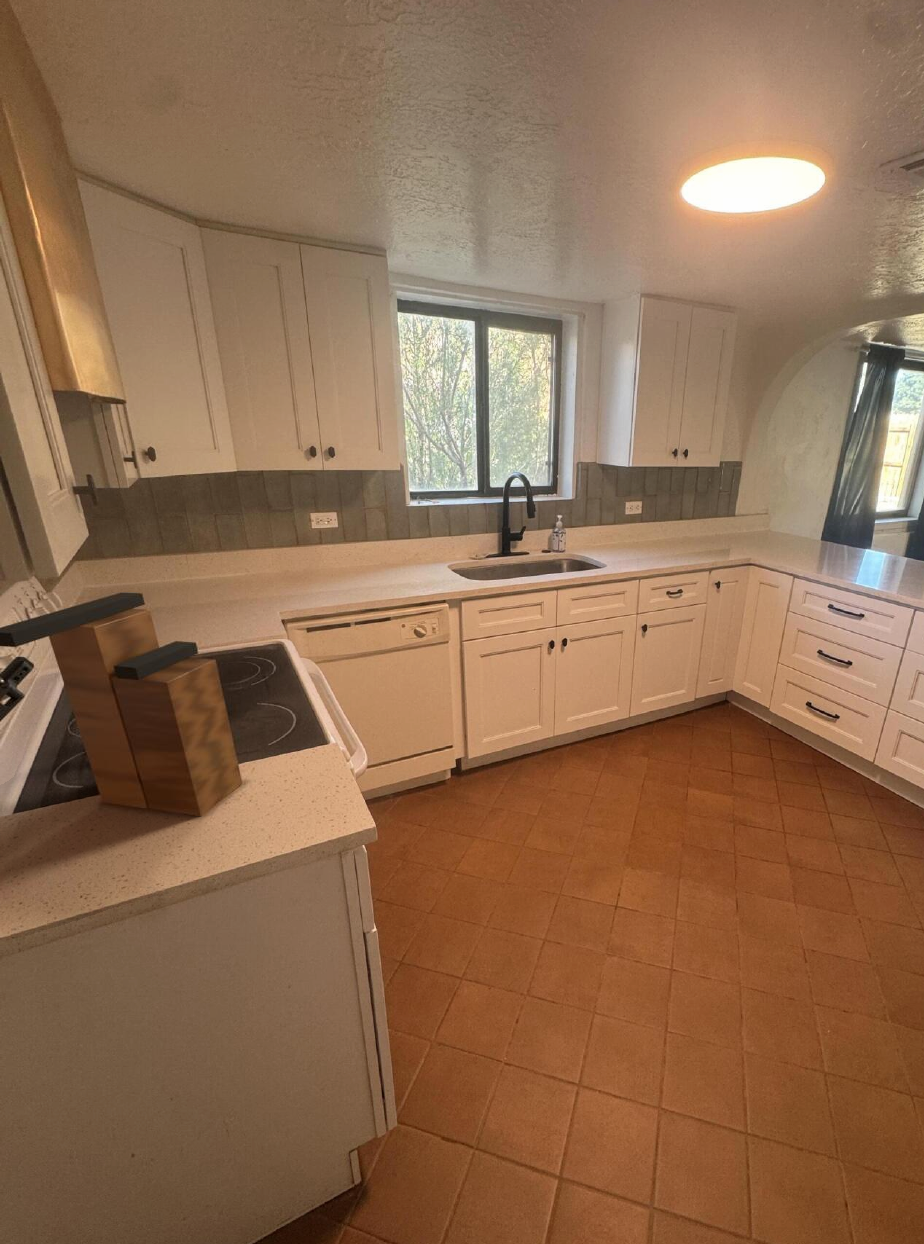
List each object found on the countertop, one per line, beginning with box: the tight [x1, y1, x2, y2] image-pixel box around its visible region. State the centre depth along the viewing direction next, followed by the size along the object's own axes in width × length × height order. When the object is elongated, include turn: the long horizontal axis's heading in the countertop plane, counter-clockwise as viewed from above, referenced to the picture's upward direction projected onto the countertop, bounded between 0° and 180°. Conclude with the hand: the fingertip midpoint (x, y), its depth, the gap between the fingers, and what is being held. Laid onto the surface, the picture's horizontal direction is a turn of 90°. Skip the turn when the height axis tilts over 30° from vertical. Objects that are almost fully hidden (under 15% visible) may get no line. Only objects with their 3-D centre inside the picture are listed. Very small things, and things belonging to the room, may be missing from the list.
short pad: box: [113, 640, 199, 680], centre depth 92 cm, size 12×4×2 cm, turn 169°
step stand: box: [48, 608, 243, 817], centre depth 95 cm, size 10×20×32 cm, turn 79°
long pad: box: [0, 592, 146, 648], centre depth 86 cm, size 22×4×2 cm, turn 172°
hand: (1, 658), depth 77 cm, fingers open, 8 cm apart
